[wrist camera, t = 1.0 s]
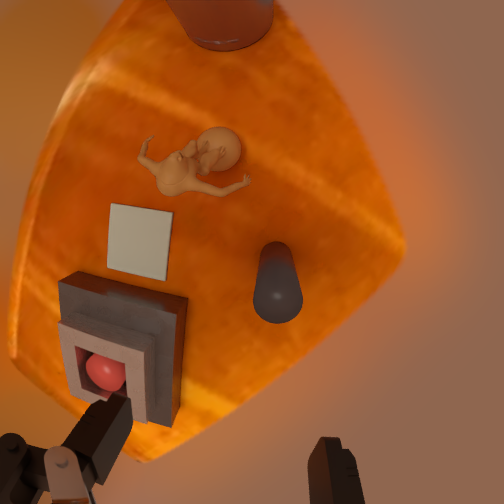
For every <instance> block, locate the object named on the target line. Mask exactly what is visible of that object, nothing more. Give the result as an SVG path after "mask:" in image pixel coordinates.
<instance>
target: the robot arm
mask: <svg viewBox="0 0 504 504" xmlns="http://www.w3.org/2000/svg"><path fill="white" fill-rule="evenodd" d="M166 1H167V3H168V5H169V6H170V8H171V9H172V11H173V12H174V14H175V15H176V17H177V19H178V20H179V22H180V23H181V25H182V26H183V28H184V29H185V31H186V33H187V34H188V36H189V38H190V39H191V40H192V41H193V42H195V43H196V44H198V45H199V46H201V47H204V48H207V49H210V50H216V51H230V50H236V49H240V48H243V47H246V46H249V45H251V44H253V43H254V42H256V41H258V40H259V39H260V38H262V37H263V36H264V35H265V34H266V32H267V31H268V30H269V28H270V26H271V24H272V20H273V0H166ZM132 425H133V415H132V405H131V399H130V398H129V397H126V396H123V395H121V394H118V393H115V392H113V393H112V394H111V395H110V397H109V398H108V400H107V401H104V400H102V399H99V400H98V401H96V402H94V403H92V404H91V405H90V406H89V408H88V409H87V410H86V412H85V414H83V416H82V417H81V419H80V421H78V423H77V424H76V426H75V427H74V429H73V430H72V431H71V433H70V434H69V436H68V437H67V438H66V440H65V441H64V443H63V444H62V445H61V446H55V447H52V448H50V449H43V448H39V447H35V446H31V445H28V444H26V442H25V440H24V439H23V438H22V437H21V436H20V435H18V434H15V433H7V434H4V435H3V436H1V437H0V504H37V503H38V501H39V499H40V497H41V495H42V493H43V491H48V492H50V494H51V498H52V504H96V501H95V498H94V495H93V492H92V487H93V485H94V484H95V482H96V483H98V484H100V485H103V484H104V482H105V480H106V478H107V476H108V474H109V472H110V471H111V469H112V467H113V465H114V463H115V461H116V459H117V457H118V455H119V453H120V451H121V449H122V447H123V445H124V443H125V441H126V439H127V438H128V436H129V434H130V432H131V429H132ZM308 480H309V495H310V504H365V501H364V496H363V492H362V487H361V483H360V478H359V473H358V469H357V464H356V460H355V457H354V456H353V454H352V453H351V452H350V451H349V449H342V445H341V441H340V438H338V437H321V438H320V439H319V441H318V443H317V445H316V446H315V448H314V450H313V452H312V453H311V455H310V457H309V460H308Z"/></svg>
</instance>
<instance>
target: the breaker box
mask: <svg viewBox="0 0 504 504" xmlns="http://www.w3.org/2000/svg"><path fill="white" fill-rule="evenodd" d="M58 288H59V301H60V312H61V320H60V321H59V322H58V329H59V336H60V343H61V349H62V355H63V361H64V366H65V371H66V376H67V380H68V385H69V389H70V393H71V395H73V396H75V397H77V398H79V399H82V400H84V401H86V402H89V403H91V404H92V403H94V402H96V401H98V400H99V399H102V400H104V401H107V400H108V398H109V397H110V395H111V394H112V393H113V392H115V393H118V394H121V395H123V396H126V397H129V398H130V399H131V405H132V415H133V420H136V421H139V422H142V423H145V424H147V423H148V421H150V422H153V423H157V424H160V425H163V426H167V427H170V428H172V425H173V423H174V420H175V418H176V415H177V413H178V410H179V408H180V390H181V373H182V359H183V346H184V334H185V322H186V312H187V302H188V298H184V297H180V296H175V295H171V294H166V293H162V292H158V291H153V290H149V289H145V288H141V287H137V286H133V285H129V284H125V283H121V282H117V281H113V280H109V279H106V278H102V277H98V276H94V275H91V274H87V273H84V272H80V271H77V272H75V273H73V274H71V275H69V276H67V277H65V278H63V279H62V280H60V281H58ZM94 353H96V354H99V355H102V356H104V357H107V358H110V359H113V360H116V361H119V362H122V363H125V372H126V380H125V381H124V383H123V384H122V386H121V387H120V388H119V389H118V390H116V391H107V390H104V389H102V388H101V387H99V386H98V385H96V384H95V383H94V382H93V381H92V379H91V378H90V377H89V375H88V373H87V370H86V362H87V360H88V359H89V358H90V357H91V356H92V355H93V354H94Z"/></svg>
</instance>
